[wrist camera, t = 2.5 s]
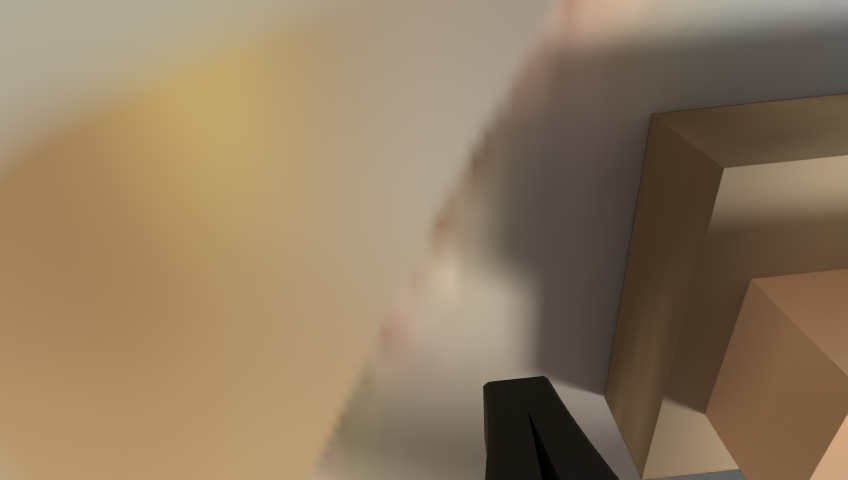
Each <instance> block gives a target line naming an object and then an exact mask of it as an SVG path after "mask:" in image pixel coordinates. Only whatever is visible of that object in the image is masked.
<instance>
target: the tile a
mask: <svg viewBox="0 0 848 480" xmlns="http://www.w3.org/2000/svg"><path fill="white" fill-rule="evenodd" d="M705 416H706V417H707V419H708V420H709V422H710V424H711V425H712V427H713V428H714V430H715V431H716V433H717V435H718V436H719V438H720V439H721V441H722V442H723V444H724V446H725V447H726V449H727V450H728V452H729V453H730V455H731V457H732V458H733V460H734V461H735V463H736V464H737V466H738V468H739V469H740V471H741V472H742V474H743V475H744V477H745V479H746V480H848V269H841V270H832V271H823V272H813V273H804V274H795V275H785V276H776V277H766V278H757V279H751V281H750V284H749V287H748V289H747V292H746V295H745V298H744V301H743V304H742V307H741V310H740V313H739V316H738V319H737V322H736V325H735V327H734V330H733V333H732V336H731V339H730V342H729V345H728V348H727V351H726V354H725V357H724V360H723V363H722V365H721V368H720V371H719V374H718V377H717V380H716V383H715V386H714V389H713V392H712V395H711V398H710V401H709V403H708V406H707V409H706V412H705Z"/></svg>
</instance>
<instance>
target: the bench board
mask: <svg viewBox="0 0 848 480" xmlns="http://www.w3.org/2000/svg"><path fill="white" fill-rule="evenodd" d="M841 269H848V94H839V95H830V96H820V97H811V98H801V99H791V100H782V101H772V102H762V103H753V104H743V105H734V106H724V107H714V108H705V109H695V110H685V111H676V112H666V113H657V114H652V118H651V124H650V130H649V136H648V142H647V148H646V154H645V159H644V165H643V171H642V177H641V183H640V189H639V195H638V201H637V207H636V213H635V219H634V225H633V231H632V237H631V242H630V248H629V254H628V260H627V266H626V272H625V278H624V284H623V290H622V296H621V302H620V308H619V314H618V320H617V326H616V331H615V337H614V343H613V349H612V355H611V361H610V367H609V373H608V379H607V385H606V391H605V400H606V402H607V404H608V406H609V409H610V411H611V413H612V415H613V417H614V420H615V422H616V424H617V426H618V428H619V431H620V433H621V435H622V437H623V439H624V442H625V444H626V446H627V448H628V451H629V453H630V455H631V457H632V459H633V462H634V464H635V466H636V468H637V470H638V473H639V475H640V477H641V479H642V480H643V479H653V478H662V477H671V476H680V475H689V474H698V473H707V472H717V471H726V470H735V469H739V468H738V466H737V464H736V463H735V461H734V460H733V458H732V457H731V455H730V453H729V452H728V450H727V449H726V447H725V446H724V444H723V442H722V441H721V439H720V438H719V436H718V435H717V433H716V431H715V430H714V428H713V427H712V425H711V424H710V422H709V420H708V419H707V417H706V416H705V412H706V409H707V406H708V403H709V401H710V398H711V395H712V392H713V389H714V386H715V383H716V380H717V377H718V374H719V371H720V368H721V365H722V363H723V360H724V357H725V354H726V351H727V348H728V345H729V342H730V339H731V336H732V333H733V330H734V327H735V325H736V322H737V319H738V316H739V313H740V310H741V307H742V304H743V301H744V298H745V295H746V292H747V289H748V287H749V284H750V281H751V279H757V278H766V277H776V276H785V275H795V274H804V273H813V272H823V271H832V270H841Z"/></svg>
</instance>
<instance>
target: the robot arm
mask: <svg viewBox="0 0 848 480" xmlns="http://www.w3.org/2000/svg"><path fill="white" fill-rule="evenodd" d="M483 398H484V433H485V444H486V451H487V460H486V476H485V480H619V478H618V477H617V476H616V475H615V473H614V472H613V471H612V470H611V468H610V467H609V466H608V464H607V463H606V462H605V461H604V459H603V458H602V457H601V455H600V454H599V453H598V451H597V450H596V449H595V448H594V446H593V445H592V444H591V442H590V441H589V440H588V438H587V437H586V435H585V434H584V433H583V431H582V430H581V428H580V427H579V426H578V424H577V423H576V421H575V420H574V418H573V417H572V416H571V414H570V413H569V411H568V410H567V408H566V407H565V405H564V404H563V402H562V401H561V399H560V397H559V396H558V394H557V393H556V391H555V389H554V388H553V386H552V384H551V383H550V381H549V379H547V378H546V377H545V376H539V377H530V378H521V379H512V380H502V381H493V382H488V383H486V384H485V385H484V386H483Z"/></svg>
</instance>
